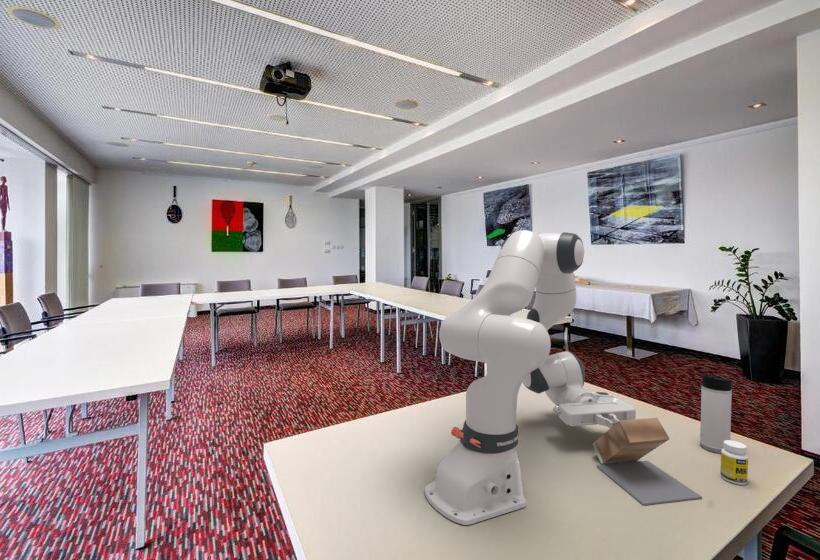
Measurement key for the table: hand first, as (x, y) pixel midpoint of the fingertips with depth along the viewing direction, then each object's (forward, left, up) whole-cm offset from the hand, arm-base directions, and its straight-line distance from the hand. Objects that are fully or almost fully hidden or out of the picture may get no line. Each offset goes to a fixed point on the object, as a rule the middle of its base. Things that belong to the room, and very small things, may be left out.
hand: (616, 425), depth 95 cm
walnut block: (0, +1, -7) cm, 7 cm away
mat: (-4, -9, -9) cm, 13 cm away
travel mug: (+28, -12, -9) cm, 31 cm away
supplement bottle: (+14, -20, -9) cm, 26 cm away
